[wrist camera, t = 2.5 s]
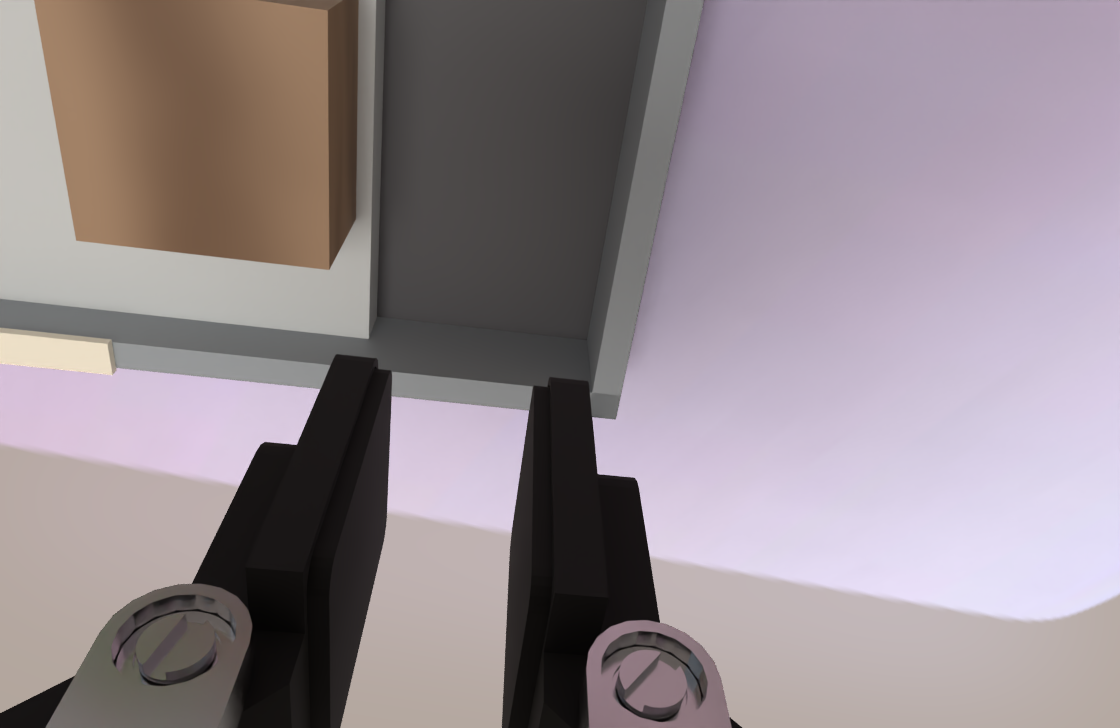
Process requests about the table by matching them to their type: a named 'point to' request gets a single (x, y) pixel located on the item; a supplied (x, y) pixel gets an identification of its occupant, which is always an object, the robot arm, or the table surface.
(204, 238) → the walnut block
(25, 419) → the table surface
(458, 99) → the box
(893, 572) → the table surface
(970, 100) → the table surface
